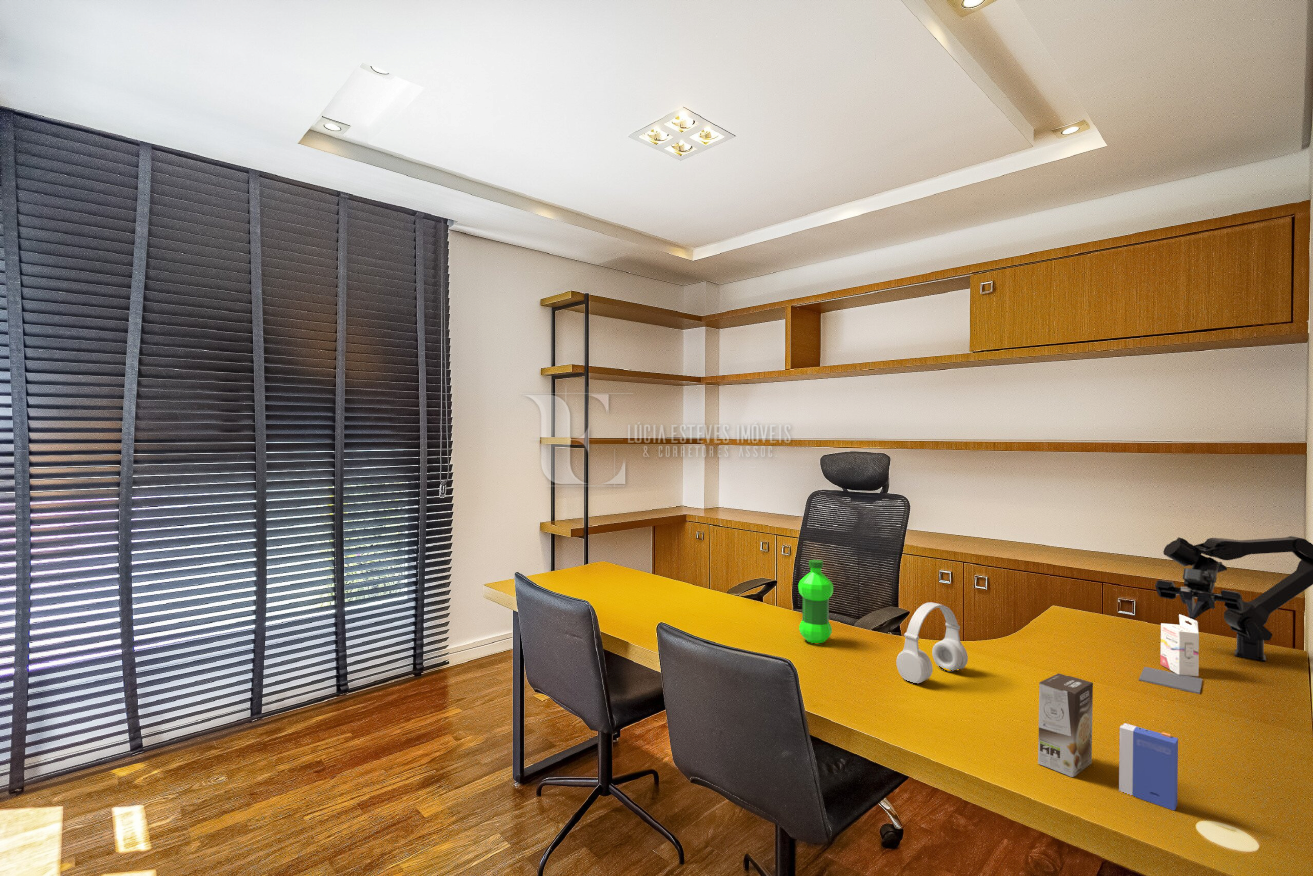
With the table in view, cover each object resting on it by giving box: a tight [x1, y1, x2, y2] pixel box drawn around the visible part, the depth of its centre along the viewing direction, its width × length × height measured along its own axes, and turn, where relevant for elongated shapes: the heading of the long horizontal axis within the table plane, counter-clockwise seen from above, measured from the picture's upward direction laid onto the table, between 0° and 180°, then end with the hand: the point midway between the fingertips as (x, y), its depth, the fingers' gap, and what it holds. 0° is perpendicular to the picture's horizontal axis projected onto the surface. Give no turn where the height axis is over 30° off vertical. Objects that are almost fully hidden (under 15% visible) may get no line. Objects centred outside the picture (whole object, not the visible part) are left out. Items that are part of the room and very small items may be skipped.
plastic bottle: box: [797, 559, 834, 644], centre depth 190 cm, size 10×10×25 cm
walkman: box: [1118, 722, 1179, 811], centre depth 108 cm, size 8×3×12 cm, turn 42°
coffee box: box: [1037, 673, 1094, 778], centre depth 120 cm, size 9×6×16 cm
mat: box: [1138, 666, 1203, 695], centre depth 161 cm, size 12×12×1 cm
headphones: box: [895, 601, 969, 684], centre depth 163 cm, size 20×8×19 cm, turn 121°
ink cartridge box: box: [1159, 613, 1200, 677], centre depth 167 cm, size 9×5×15 cm, turn 168°
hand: (1191, 618), depth 174 cm, fingers closed
